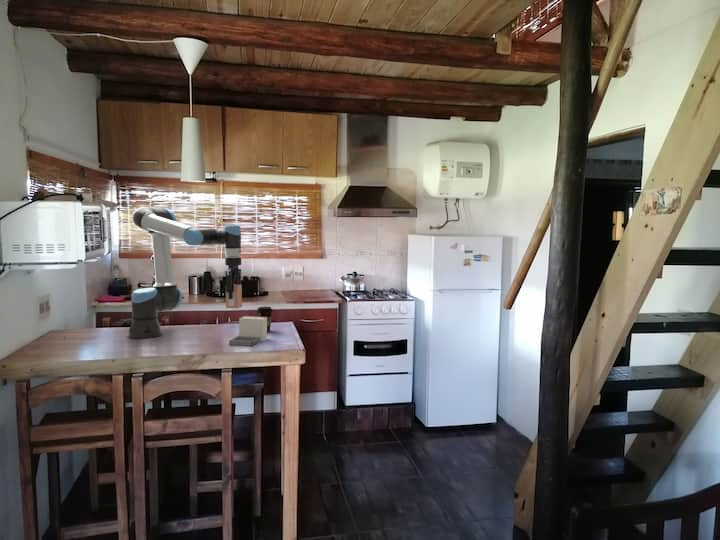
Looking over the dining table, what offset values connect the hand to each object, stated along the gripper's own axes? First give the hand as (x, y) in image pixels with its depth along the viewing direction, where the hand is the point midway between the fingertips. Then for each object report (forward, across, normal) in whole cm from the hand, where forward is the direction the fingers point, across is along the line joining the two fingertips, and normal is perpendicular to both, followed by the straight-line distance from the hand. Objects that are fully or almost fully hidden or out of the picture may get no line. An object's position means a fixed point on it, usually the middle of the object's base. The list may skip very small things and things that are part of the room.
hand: (234, 304), depth 234 cm
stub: (+1, 0, 0) cm, 1 cm away
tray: (+18, -4, -7) cm, 20 cm away
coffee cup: (+18, +23, -7) cm, 30 cm away
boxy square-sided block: (+18, +4, -8) cm, 20 cm away
